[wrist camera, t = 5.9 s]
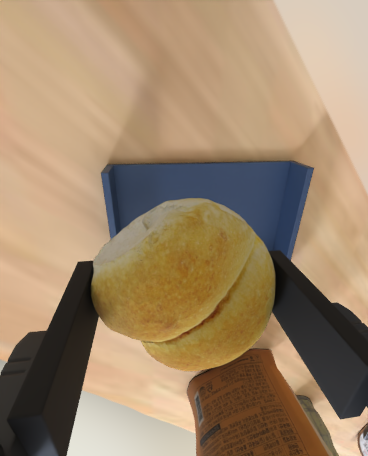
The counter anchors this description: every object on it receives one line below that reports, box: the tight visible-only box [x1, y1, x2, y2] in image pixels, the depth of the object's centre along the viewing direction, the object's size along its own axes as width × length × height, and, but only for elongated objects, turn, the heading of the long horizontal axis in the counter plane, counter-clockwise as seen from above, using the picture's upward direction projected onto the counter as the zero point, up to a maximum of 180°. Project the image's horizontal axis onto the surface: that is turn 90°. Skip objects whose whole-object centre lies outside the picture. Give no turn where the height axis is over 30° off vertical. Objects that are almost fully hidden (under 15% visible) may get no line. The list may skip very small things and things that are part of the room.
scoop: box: [101, 161, 314, 261], centre depth 28 cm, size 26×19×4 cm
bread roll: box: [91, 198, 276, 371], centre depth 11 cm, size 8×9×4 cm
